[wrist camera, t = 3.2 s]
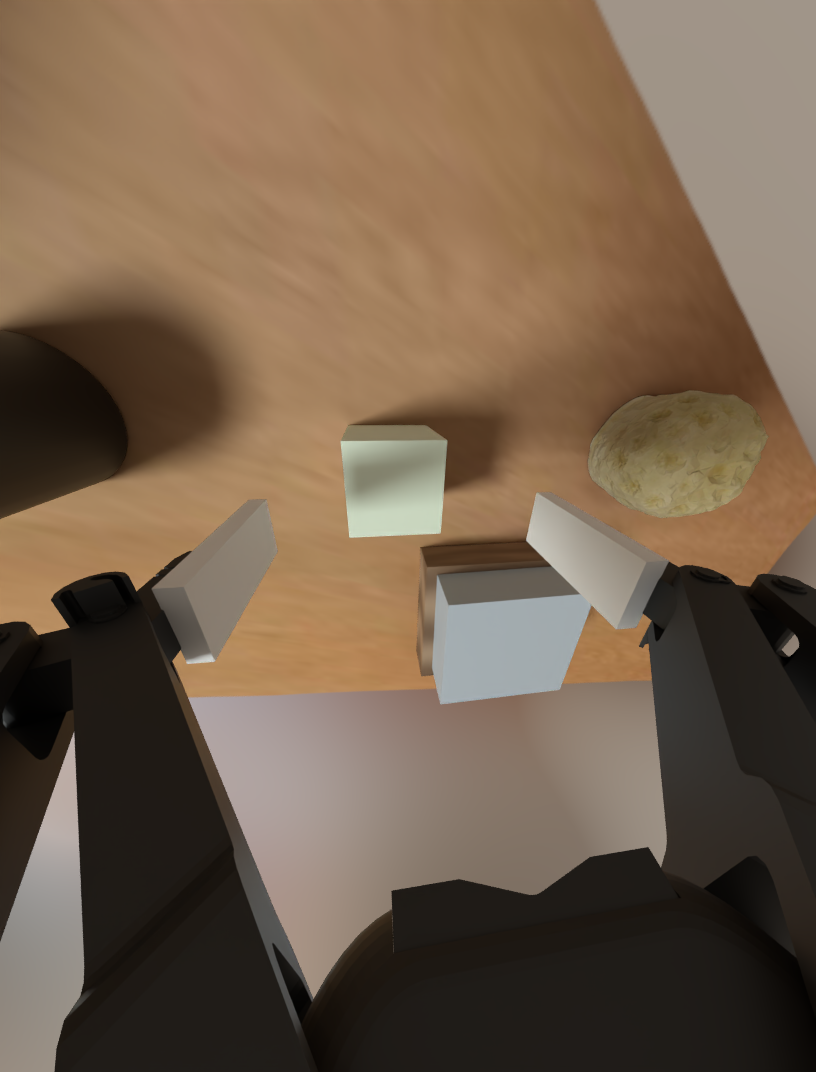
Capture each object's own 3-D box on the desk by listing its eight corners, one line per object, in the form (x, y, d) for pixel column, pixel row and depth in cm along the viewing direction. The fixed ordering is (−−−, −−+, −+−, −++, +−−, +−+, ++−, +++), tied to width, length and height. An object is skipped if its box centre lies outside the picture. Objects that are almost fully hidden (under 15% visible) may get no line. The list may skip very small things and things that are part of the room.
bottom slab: (419, 544, 28) (427, 567, 25) (553, 537, 30) (578, 558, 26) (415, 646, 35) (421, 676, 31) (526, 636, 36) (543, 663, 33)
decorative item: (556, 459, 29) (602, 548, 25) (619, 367, 21) (706, 481, 16) (643, 444, 30) (702, 529, 26) (741, 349, 21) (854, 455, 17)
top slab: (437, 574, 25) (448, 605, 22) (565, 565, 27) (596, 592, 23) (432, 667, 31) (440, 704, 27) (538, 656, 32) (559, 689, 29)
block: (348, 425, 22) (340, 441, 16) (425, 424, 23) (447, 440, 17) (354, 499, 25) (349, 537, 19) (422, 497, 26) (440, 533, 19)
